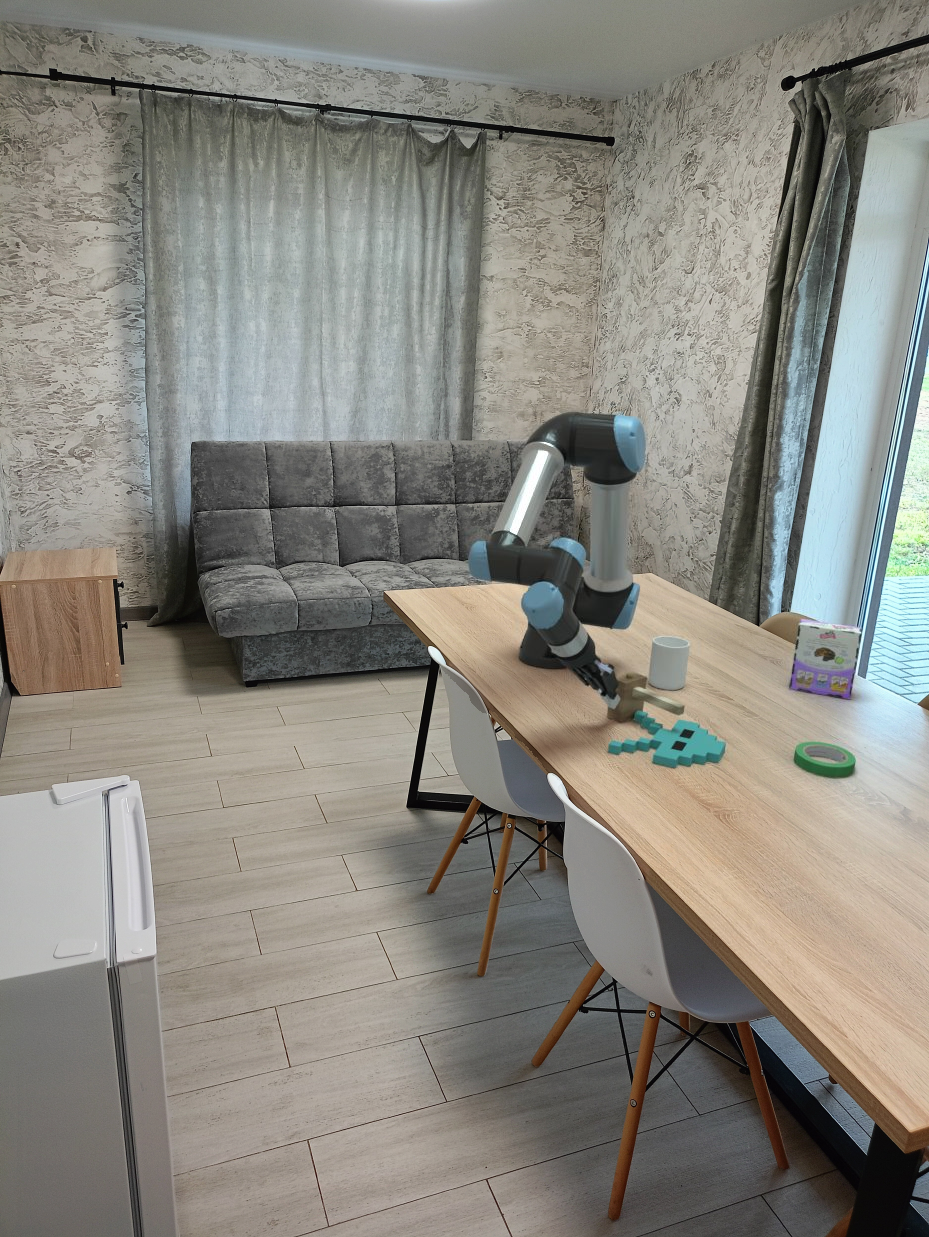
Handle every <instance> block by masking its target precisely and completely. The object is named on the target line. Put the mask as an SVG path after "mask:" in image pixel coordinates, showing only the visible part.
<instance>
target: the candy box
mask: <svg viewBox="0 0 929 1237" xmlns="http://www.w3.org/2000/svg"><path fill="white" fill-rule="evenodd" d="M797 627H798V628H797V633H796V634H797V636H796V642H795V647H794V655H793V660H792V667H791V675H790V680H789V686H788V689H789V690H794V691H801V692H805V693H811V694H818V695H822V696H828V697H835V698H839V699H840V698H841V699H846V700H851V698H852V692H853V691H852V690H853V687H854V680H855V675H856V669H857V666H858V658H859V653H860V646H861V640H862V629H863V628H862V627H861V626H854V625H846V624H840V623H832V622H825V621H818V620H812V619H807V618H806V619H805V618H800V621H799V623H798V626H797Z"/></svg>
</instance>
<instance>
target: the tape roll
mask: <svg viewBox="0 0 929 1237" xmlns="http://www.w3.org/2000/svg"><path fill="white" fill-rule="evenodd" d="M813 757H820V758H821V757H822V758H828V759H831V760H833V761H836V762H826V761H822V760H819V759H815V758H813ZM856 761H857V760H856V756H855V755H854V754H853V753H852V752H850V751H849V750H848V749H846V748H843V747H841V746H838V745H836V744H832V743H827V742H822V741H821V742H820V741H805V742H801V743H798V744H797V745H796V746H795V749H794V755H793V763H794V764H795V765H796V766H797V767H798V768H800V769H801V770H803V771H806V772H808V773H810V774H812V775H816V776H820V777H826V778H832V779H833V778H834V779H835V778H845V777H850V776H851V775H853V774H854V771H855V767H856V763H857V762H856Z"/></svg>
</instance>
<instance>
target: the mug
mask: <svg viewBox="0 0 929 1237" xmlns="http://www.w3.org/2000/svg"><path fill="white" fill-rule="evenodd" d="M690 645H691V643H690V642H689V640H687V639H684V638H682V637H678V636H671V635H670V636H669V635H659V636H655V637H653V639H652V643H651V651H650V661H649V667H648V668H649V669H648V671H649V672H648V683H649V684H650V685H651V686H652V687H654V688H657V689H660V690H667V691H676V690H677V691H678V690H681V689H683V688H684V686H685V684H686V680H687V679H686V678H687V672H688V671H687V670H688V663H689V654H690V647H691V646H690Z"/></svg>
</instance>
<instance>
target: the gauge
mask: <svg viewBox="0 0 929 1237" xmlns="http://www.w3.org/2000/svg"><path fill="white" fill-rule="evenodd" d="M615 676H616V679H617V681H618V684H619V685H618V687H617V689H616V690H615V691H616V693H617V694H618V695H619V697H620V698H621V699H620V701H619V703H618V704H617V706H616V708H615V709H613V708H610V707H608V706H607V710H606V711H607V713H606V717H607V718H609V719H610V720H613V721H615V722H618V723H620V724H623V723H625V722H628V721H631V720H634V716H635V713H636V712H637V711H642V712H644V704H645V703H647V704H650V705H652V706H655V707H656V708H659V709H661V710H664V711H666V712H669V713H671V714H674V715H676V716H678V717H679V716H681V715H684V714H685V713H684V712H685V706H686V705H684V704H682V703H680V702H677V701H674V700H673V699H670V698H667V697H665V696H663V695H660V694H657V693H655V692H653V691H650V690H648V689H647V683H648V682H647V680H648V677H647V676H646V675H642V674H641V673H639V672H635V671H629V672H626V673H622V674H619V675H615Z"/></svg>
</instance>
